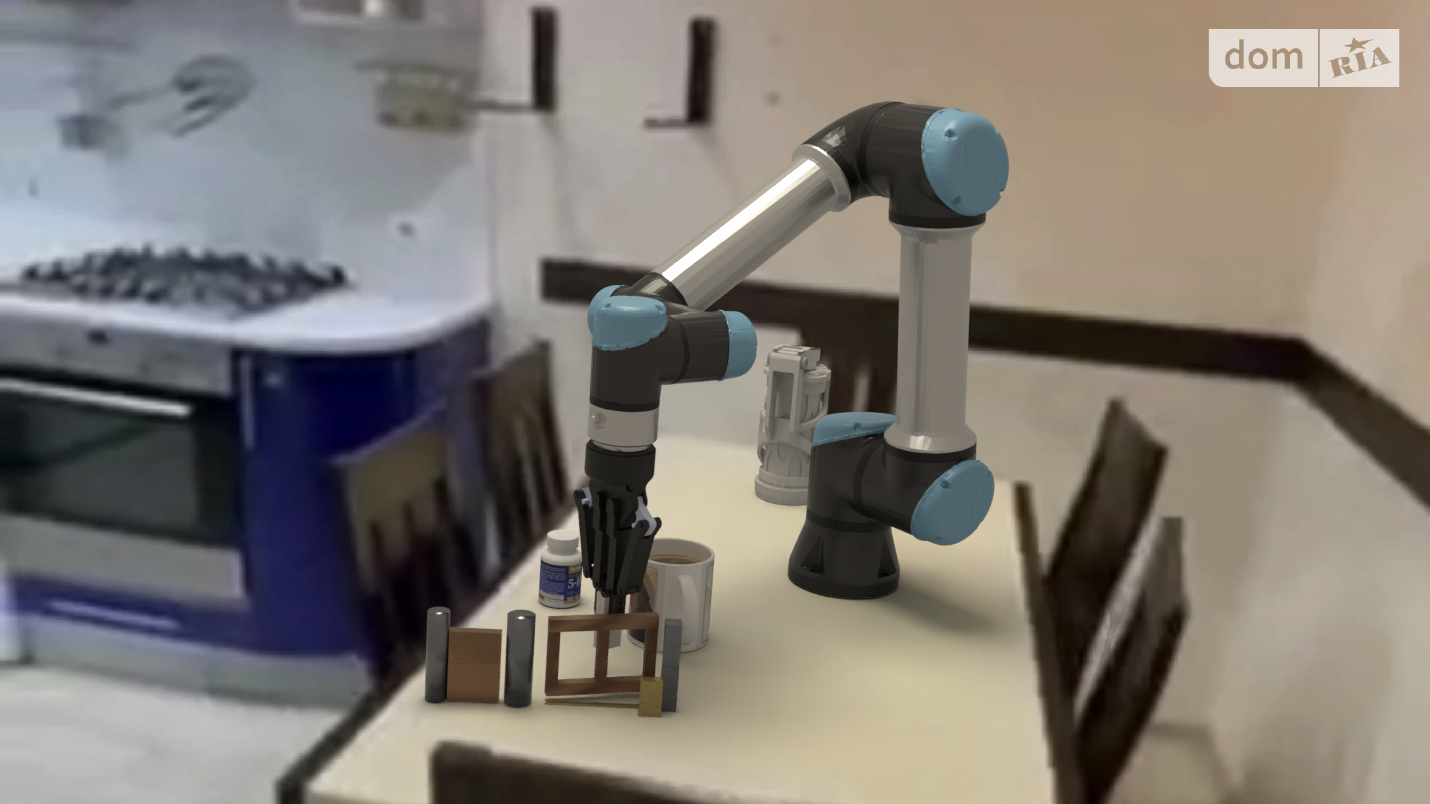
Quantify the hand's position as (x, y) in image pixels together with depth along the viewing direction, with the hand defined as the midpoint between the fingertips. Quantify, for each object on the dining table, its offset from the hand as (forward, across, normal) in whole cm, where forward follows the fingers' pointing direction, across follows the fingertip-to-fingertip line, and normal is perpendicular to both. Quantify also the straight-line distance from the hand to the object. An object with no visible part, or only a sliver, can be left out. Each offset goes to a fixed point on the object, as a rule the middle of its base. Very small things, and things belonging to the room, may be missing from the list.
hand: (606, 646), depth 175 cm
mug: (+5, -6, +14) cm, 16 cm away
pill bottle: (+5, -23, +10) cm, 26 cm away
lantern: (+5, -42, +67) cm, 79 cm away
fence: (+5, 0, -8) cm, 10 cm away
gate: (+4, +2, -2) cm, 5 cm away
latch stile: (+5, +8, +1) cm, 9 cm away
